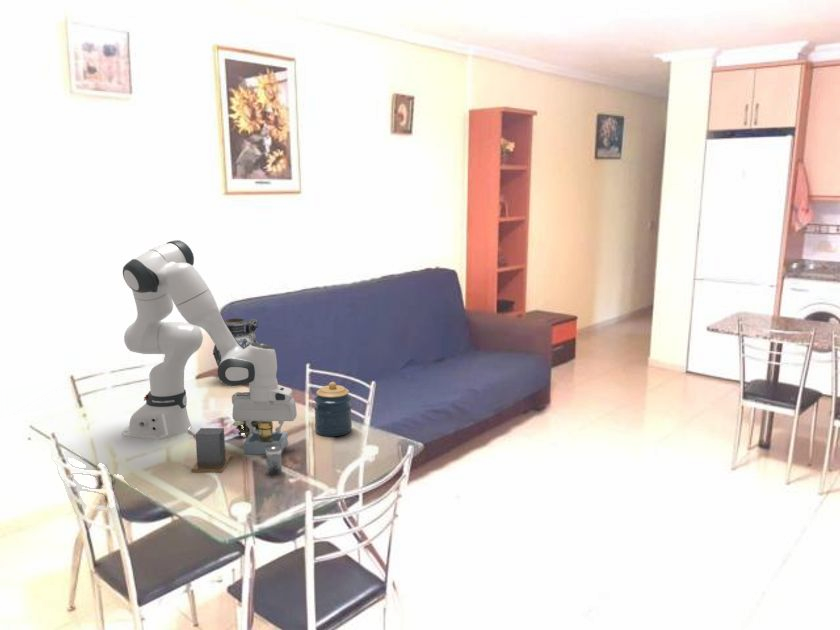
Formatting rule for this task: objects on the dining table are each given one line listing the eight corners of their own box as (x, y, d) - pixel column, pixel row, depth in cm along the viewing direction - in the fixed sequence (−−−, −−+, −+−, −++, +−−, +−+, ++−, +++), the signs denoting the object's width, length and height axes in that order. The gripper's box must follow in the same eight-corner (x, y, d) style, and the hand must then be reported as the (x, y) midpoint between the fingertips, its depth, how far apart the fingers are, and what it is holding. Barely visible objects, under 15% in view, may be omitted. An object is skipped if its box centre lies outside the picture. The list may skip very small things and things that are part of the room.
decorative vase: (251, 373, 292) (248, 313, 286) (270, 382, 278) (267, 320, 272) (205, 382, 278) (202, 319, 273) (223, 392, 264) (219, 326, 259)
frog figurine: (227, 446, 209) (225, 412, 206) (222, 427, 225) (220, 396, 223) (281, 439, 215) (280, 406, 213) (272, 421, 232) (271, 391, 229)
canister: (309, 427, 225) (308, 379, 222) (342, 421, 231) (342, 374, 228) (323, 439, 214) (322, 389, 211) (358, 432, 220) (357, 384, 217)
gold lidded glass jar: (260, 442, 209) (260, 419, 207) (274, 442, 209) (274, 419, 207) (257, 447, 204) (256, 424, 203) (271, 447, 204) (271, 424, 203)
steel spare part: (264, 475, 187) (263, 449, 185) (268, 468, 191) (267, 443, 190) (280, 475, 187) (279, 449, 185) (283, 468, 191) (282, 443, 190)
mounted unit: (191, 472, 188) (189, 437, 186) (203, 457, 199) (201, 424, 197) (221, 472, 188) (219, 437, 186) (232, 457, 199) (230, 424, 197)
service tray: (243, 454, 202) (243, 443, 201) (251, 441, 212) (251, 432, 211) (281, 454, 202) (281, 443, 201) (287, 442, 212) (287, 432, 211)
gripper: (228, 395, 200) (230, 436, 203) (293, 395, 200) (294, 436, 203) (234, 389, 206) (236, 429, 209) (297, 389, 206) (298, 429, 209)
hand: (265, 433), depth 206 cm, fingers open, 7 cm apart
